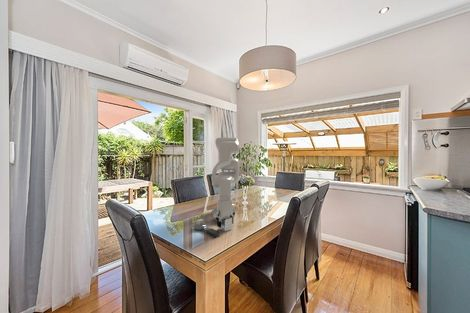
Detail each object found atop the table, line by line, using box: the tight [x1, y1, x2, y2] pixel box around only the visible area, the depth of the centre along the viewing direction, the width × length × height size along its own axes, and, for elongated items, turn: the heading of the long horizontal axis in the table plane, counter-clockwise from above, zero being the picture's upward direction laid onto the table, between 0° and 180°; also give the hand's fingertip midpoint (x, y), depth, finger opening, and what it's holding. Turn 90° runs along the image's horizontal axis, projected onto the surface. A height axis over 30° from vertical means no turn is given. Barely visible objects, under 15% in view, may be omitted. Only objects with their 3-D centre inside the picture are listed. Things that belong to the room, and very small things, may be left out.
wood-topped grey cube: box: [218, 216, 233, 233], centre depth 127 cm, size 6×6×7 cm
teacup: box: [211, 207, 218, 222], centre depth 145 cm, size 14×11×8 cm
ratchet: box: [193, 218, 221, 239], centre depth 123 cm, size 21×8×6 cm, turn 43°
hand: (225, 225), depth 127 cm, fingers open, 9 cm apart
